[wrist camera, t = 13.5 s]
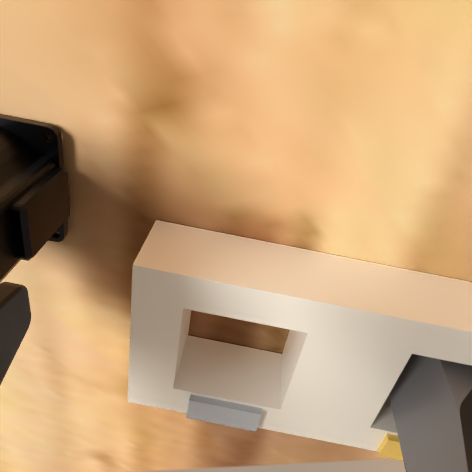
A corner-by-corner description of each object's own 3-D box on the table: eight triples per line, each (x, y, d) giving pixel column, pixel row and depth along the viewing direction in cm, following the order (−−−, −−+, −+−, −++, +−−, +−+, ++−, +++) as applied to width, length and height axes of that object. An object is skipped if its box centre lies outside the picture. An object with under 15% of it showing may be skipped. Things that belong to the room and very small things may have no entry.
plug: (380, 353, 26) (450, 673, 14) (421, 310, 24) (544, 645, 12) (436, 376, 27) (547, 704, 15) (481, 336, 25) (653, 681, 13)
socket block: (147, 349, 28) (125, 407, 25) (156, 219, 23) (129, 270, 19) (479, 415, 28) (507, 484, 24) (568, 301, 23) (622, 367, 19)
